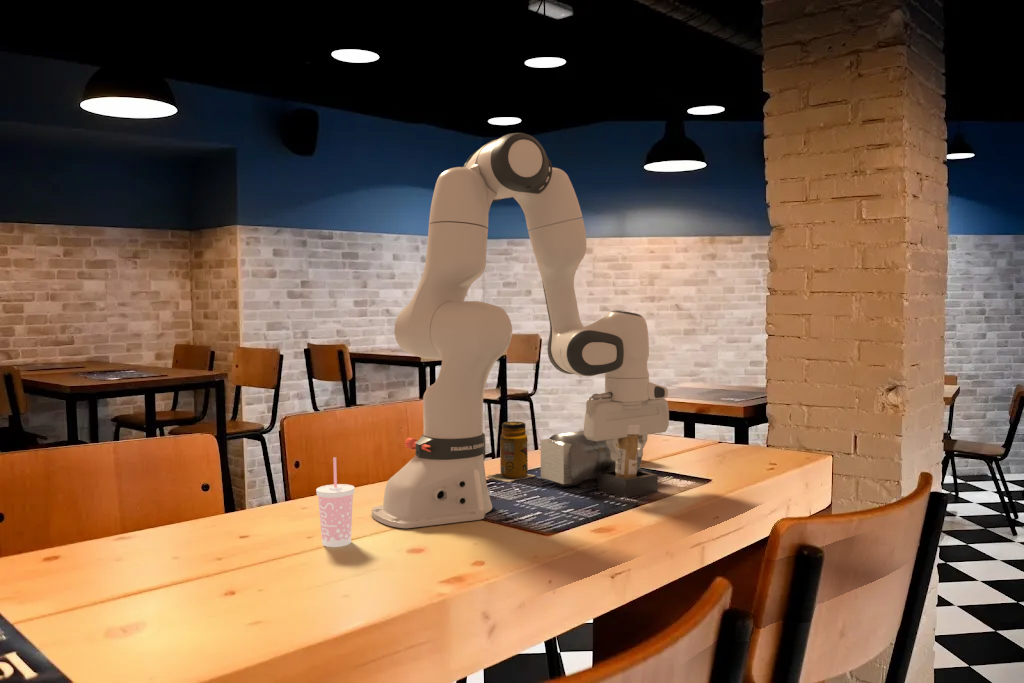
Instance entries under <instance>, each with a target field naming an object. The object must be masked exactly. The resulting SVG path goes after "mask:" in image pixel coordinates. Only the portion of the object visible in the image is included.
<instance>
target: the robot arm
mask: <svg viewBox="0 0 1024 683" xmlns="http://www.w3.org/2000/svg"><path fill="white" fill-rule="evenodd" d="M431 198H432V199H431V205H430V210H429V219H428V230H427V232H428V234H427V245H426V256H425V265H424V269H423V272H422V276H421V279H420V281H419V284H418V286H417V288H416V290H415V293H414V295H413V297H412V299H411V300H410V301H409V303H408V304H407V305H406V306H405V307H404V308H402V310H401V311H400V312H399V313H398V315H397V317H396V320H395V322H394V330H393V331H394V337H395V340H396V343H397V345H398V346H399V348H400V349H401V350H402V351H404V352H406V353H408V354H410V355H412V356H415V357H419V358H421V359H425V360H426V359H427V360H438V361H439V360H440V361H441V366H440V371H439V373H438V376H437V378H436V380H435V381H434V383H433V384H431V385H429V387H427V388H426V390H425V392H424V393H423V396H422V403H423V404H422V405H423V406H422V408H423V412H422V413H423V416H422V417H423V418H422V419H423V420H422V421H423V423H422V424H423V434H422V435H421V436H420V438H419V439H418V440H417V439H416V438H413V437H407V438H406V439H405V441H404V446H405V447H406V448H407V449H410V450H415V454H414V455H415V456H413V458H412V459H410V460H409V461H408V462H407V463H406V464H405V465H404V466H402V467H401V468H400V469H399V470H398V471H397V472H396V473H395V474H393V475H392V476H391V477H390V478H389V479H388V480H387V482H386V483H385V484H386V485H385V488H384V495H383V503H382V504H381V505H377V506H374V507H372V509H371V517H372V518H373V519H374V520H375V521H377V522H378V523H381V524H383V525H386V526H389V527H394V528H398V529H412V528H420V527H428V526H429V527H430V526H436V525H437V526H438V525H445V524H455V523H462V522H470V521H478V520H483V519H485V517H486V514H487V513H489V512H491V511H492V510H493V505H492V504H493V503H492V501H491V497H490V493H489V490H488V484H487V475H486V469H485V459H486V434H485V433H484V430H483V428H484V427H483V424H484V423H483V418H484V414H483V411H484V409H483V408H484V395H485V389H486V385H487V384H486V383H487V380H488V378H489V376H490V372H491V371H492V368H493V367H494V365H495V363H496V362H497V361H498V360H499V359H500V358H502V356H503V355H504V354H505V353H506V351H507V350H508V349H509V347H510V345H511V341H512V337H513V326H512V321H511V319H510V317H509V315H508V313H507V312H506V311H505V310H504V308H502V307H500V306H497V305H494V304H491V303H487V302H484V301H479V300H477V301H475V300H473V301H472V300H471V301H470V300H469V301H468V300H465V299H466V297H467V296H466V295H467V293H468V291H469V290H470V288H471V286H472V284H474V282H475V281H476V280H478V278H480V277H481V276H482V274H483V273H484V271H485V270H486V264H487V250H488V249H487V247H488V234H489V213H490V210H491V205H492V203H494V202H498V201H500V200H502V199H510V198H513V199H514V200H515V201H516V202H517V203H518V205H519V207H520V208H521V209H522V211H523V212H522V213H523V215H524V217H525V221H526V222H525V224H526V228H527V231H528V232H527V233H528V236H529V240H530V243H531V247H532V251H533V254H534V257H535V259H536V263H537V266H538V271H539V273H540V278H541V282H542V287H543V293H544V298H545V299H544V300H545V303H546V310H547V316H548V320H549V336H548V342H547V355H548V360H549V362H550V363H551V364H552V366H553V367H554V368H555V369H556V370H557V371H559V372H561V373H563V374H566V375H576V376H580V377H581V376H582V377H595V376H596V375H603V374H604V388H605V389H604V392H601V393H593V394H592V395H591V396H590V397H589V398H588V399H587V400H586V403H585V407H586V408H585V414H584V423H583V431H584V436H585V437H586V439H588V440H591V441H603V440H606V444H607V446H608V448H609V450H610V451H611V459H612V460H614V461H617V460H621V459H622V452H621V451H618V448H617V446H616V444H618V438H626V437H627V435H628V434H627V426H628V425H640V432H639V434H638V435H639V436H638V457H642V458H643V456H644V448H645V446H646V444H647V442H648V435H654V434H661V433H666V432H667V430H668V428H669V426H670V425H669V424H670V409H669V408H670V407H669V402H668V401H667V399H666V398H668V396H669V395H668V394H669V389H668V388H667V387H665V386H662V385H659V384H657V383H653V382H651V381H650V374H649V370H648V360H649V356H650V340H649V330H648V324H647V321H646V319H645V318H644V317H643V315H641V314H639V313H636V312H632V311H625V310H624V311H623V310H611V311H609V312H608V313H607V314H606V315H605V316H603V317H601V318H600V319H598V320H596V321H594V322H593V323H590V324H589V325H585V326H584V324H583V323H582V321H581V319H580V312H579V307H578V302H577V297H576V291H575V276H576V272H577V269H578V267H579V266H580V263H581V262H582V261H583V260H584V257H585V255H586V253H587V250H588V249H587V233H586V232H587V231H586V226H585V223H584V217H583V213H582V210H581V206H580V203H579V200H578V197H577V194H576V191H575V188H574V187H573V184H572V181H571V180H570V177H569V175H568V173H566V172H565V171H564V170H563V169H561V168H558V167H553V163H552V161H551V160H550V159H549V157H548V155H547V153H546V151H545V149H544V147H543V145H542V144H541V143H540V142H539V140H537V138H535V137H534V136H532V135H530V134H527V133H524V132H515V133H514V132H513V133H507V134H504V135H502V136H501V137H499V138H498V139H494V140H490V141H489V142H487V143H486V144H484V145H482V146H481V147H480V148H479V149H477V150H475V151H474V152H473V153H472V154H471V155H470V156H469V157H468V158H467V159H466V162H465V163H464V165H463V166H456V167H451V168H448V169H446V170H444V171H443V172H441V173H440V174H439V176H438V178H437V180H436V182H435V186H434V190H433V194H432V197H431Z"/></svg>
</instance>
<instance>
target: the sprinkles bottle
mask: <svg viewBox="0 0 1024 683" xmlns="http://www.w3.org/2000/svg"><path fill="white" fill-rule="evenodd" d="M639 432H640V425H628V426H627V434H628V435H627V437H626V438H618V444H617V448H618V451H621V452H622V459H621V460H617V461H616V468H615V472H616V475H615V476H618V477H622V478H626V479H627V478H633V477H636V473H637V457H638V436H639V435H638V434H639Z"/></svg>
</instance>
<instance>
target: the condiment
mask: <svg viewBox="0 0 1024 683" xmlns="http://www.w3.org/2000/svg"><path fill="white" fill-rule="evenodd" d="M501 428H502V429H501V434H500V440H499V442H500V443H499V444H500V447H499V450H500V451H499V452H500V454H499V455H500V473H495V474H489V475H486V478H487V477H488V478H490V479H493V480H496V481H502V482H507V483H510V482H515V481H519V480H525V479H528V478H534V477H536V476H537V475H535V474H529V473H528V468H529V467H528V466H529V464H528V463H529V462H528V460H529V459H528V435H527V434H526V432H527V429H526V428H527V427H526V423H525V422H523V421H504V422H502V424H501Z"/></svg>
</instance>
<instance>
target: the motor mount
mask: <svg viewBox="0 0 1024 683" xmlns="http://www.w3.org/2000/svg"><path fill="white" fill-rule="evenodd" d="M616 446H617V444H616ZM642 459H643V456H642V457H637V473H636V477H633V478H627V479H626V478H622V477H618V476H615V475H616V472H615V468H616V461H614V460H612V459H611V451H610V450H609V448H608V446H607V444H606V440H603V441H591V440H588V439H586V437H585V436H584V430H581V431H572V432H564V433H556V434H553V435H551V436H550V437H549V438H545V439H540V478H542V479H545V480H548V481H551V482H553V484H554V485H556V486H557V487H559V488H560V487H561V488H567V487H573V486H575V487H577V488H581V489H586V488H593V487H597V490H598V491H601V492H605V493H608V494H612V495H616V496H619V497H622V498H624V499H625V498H626V499H627V498H632V497H637V496H642V495H647V494H652V493H658V488H659V487H658V484H659V483H658V482H659V481H658V478H659V477H658V476H659V475H658V474H656V473H652V472H649V471H645V470H640V467H641V464H642Z"/></svg>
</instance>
